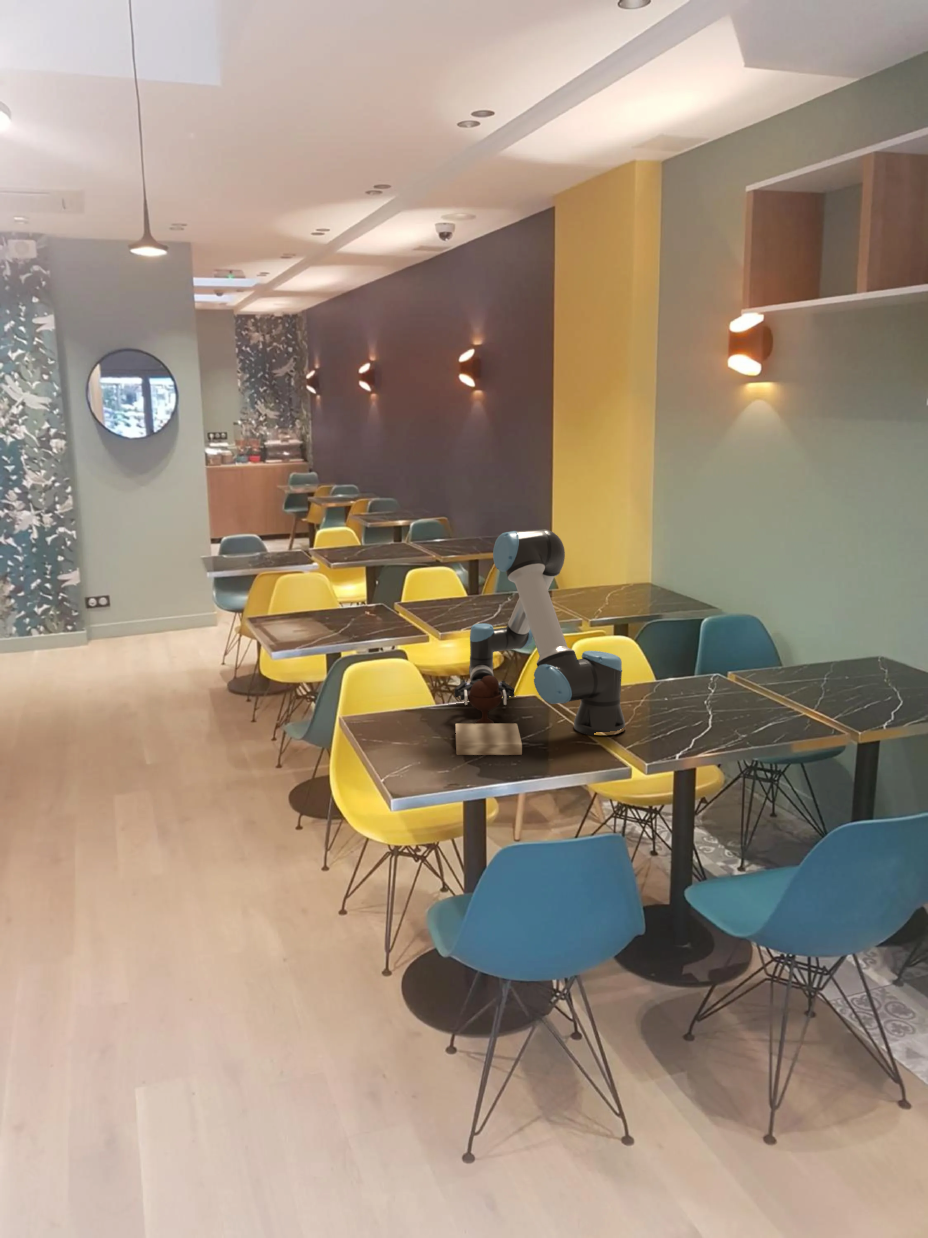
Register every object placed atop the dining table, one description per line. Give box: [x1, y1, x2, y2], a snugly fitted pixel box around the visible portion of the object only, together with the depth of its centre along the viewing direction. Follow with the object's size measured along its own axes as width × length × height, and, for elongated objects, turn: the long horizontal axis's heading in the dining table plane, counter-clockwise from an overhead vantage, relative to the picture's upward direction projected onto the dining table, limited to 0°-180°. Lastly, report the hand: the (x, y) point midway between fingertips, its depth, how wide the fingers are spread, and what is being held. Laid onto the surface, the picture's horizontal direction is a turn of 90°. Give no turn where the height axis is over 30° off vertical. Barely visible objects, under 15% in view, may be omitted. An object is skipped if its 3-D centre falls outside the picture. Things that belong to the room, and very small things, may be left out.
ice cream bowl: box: [467, 675, 503, 724], centre depth 295 cm, size 11×11×15 cm
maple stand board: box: [454, 722, 523, 756], centre depth 279 cm, size 18×18×3 cm
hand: (485, 700), depth 291 cm, fingers closed on ice cream bowl, 11 cm apart
